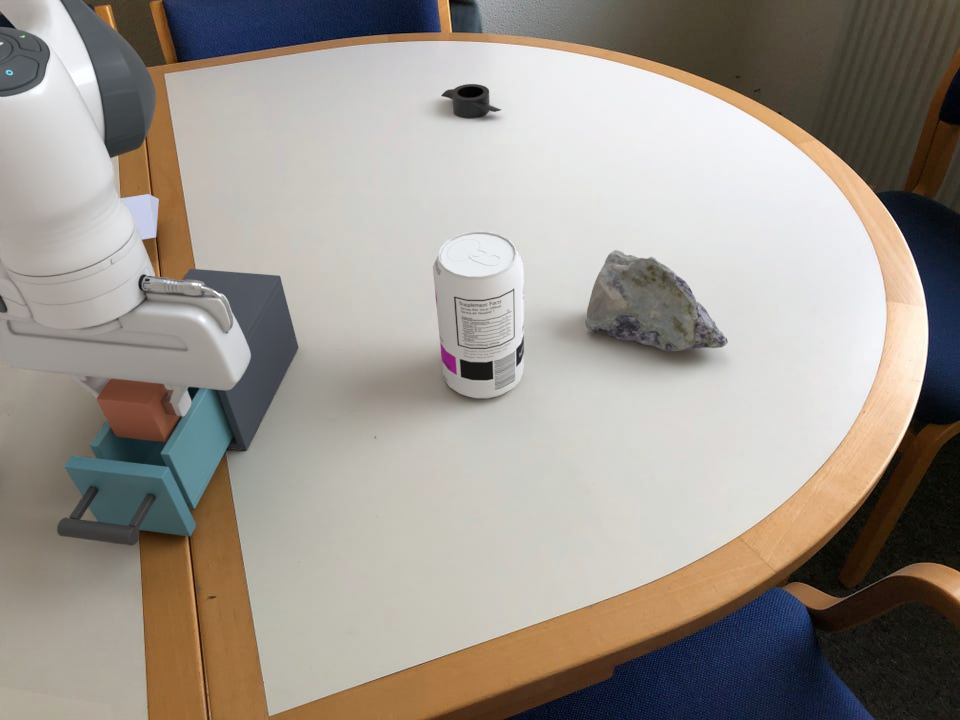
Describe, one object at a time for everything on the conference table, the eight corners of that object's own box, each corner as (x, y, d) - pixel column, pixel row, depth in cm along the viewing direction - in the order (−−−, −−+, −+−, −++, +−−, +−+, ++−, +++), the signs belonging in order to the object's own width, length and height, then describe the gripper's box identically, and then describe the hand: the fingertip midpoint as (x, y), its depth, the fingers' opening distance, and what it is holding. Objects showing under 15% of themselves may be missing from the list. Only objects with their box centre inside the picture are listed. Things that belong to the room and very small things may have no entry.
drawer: (166, 584, 63) (133, 526, 58) (70, 570, 64) (30, 513, 59) (251, 419, 76) (231, 360, 71) (170, 410, 77) (144, 351, 72)
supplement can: (427, 383, 80) (413, 262, 70) (473, 337, 85) (466, 218, 75) (494, 414, 77) (490, 292, 66) (538, 364, 81) (540, 243, 71)
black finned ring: (486, 93, 129) (485, 75, 127) (504, 119, 122) (503, 101, 120) (440, 100, 127) (438, 82, 125) (455, 127, 120) (454, 109, 118)
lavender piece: (166, 221, 104) (62, 238, 102) (150, 175, 99) (41, 192, 97) (164, 260, 98) (53, 279, 95) (147, 213, 93) (29, 232, 91)
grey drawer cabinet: (247, 451, 74) (220, 377, 68) (152, 440, 76) (117, 367, 69) (299, 347, 85) (280, 275, 78) (215, 339, 86) (189, 268, 80)
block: (165, 442, 65) (148, 404, 62) (115, 436, 66) (95, 398, 63) (189, 403, 68) (174, 365, 65) (141, 398, 69) (123, 360, 66)
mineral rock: (729, 359, 81) (748, 280, 74) (643, 396, 78) (655, 317, 71) (653, 291, 90) (664, 215, 83) (572, 322, 86) (576, 245, 79)
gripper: (239, 257, 57) (278, 392, 67) (-15, 237, 60) (58, 369, 70) (202, 312, 53) (250, 448, 62) (-70, 288, 56) (15, 421, 65)
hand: (146, 406), depth 66 cm, fingers closed on block, 4 cm apart
